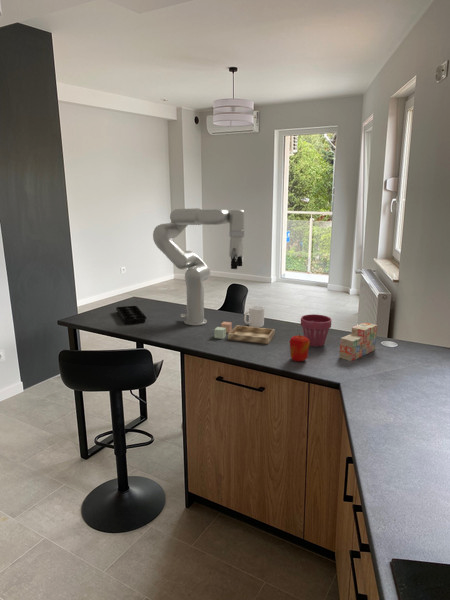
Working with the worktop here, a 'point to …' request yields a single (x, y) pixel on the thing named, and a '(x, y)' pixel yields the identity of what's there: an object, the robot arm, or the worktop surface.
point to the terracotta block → (227, 326)
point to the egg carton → (131, 315)
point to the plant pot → (316, 328)
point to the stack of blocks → (358, 341)
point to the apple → (299, 348)
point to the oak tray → (251, 334)
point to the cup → (255, 316)
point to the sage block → (219, 332)
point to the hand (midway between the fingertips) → (236, 267)
